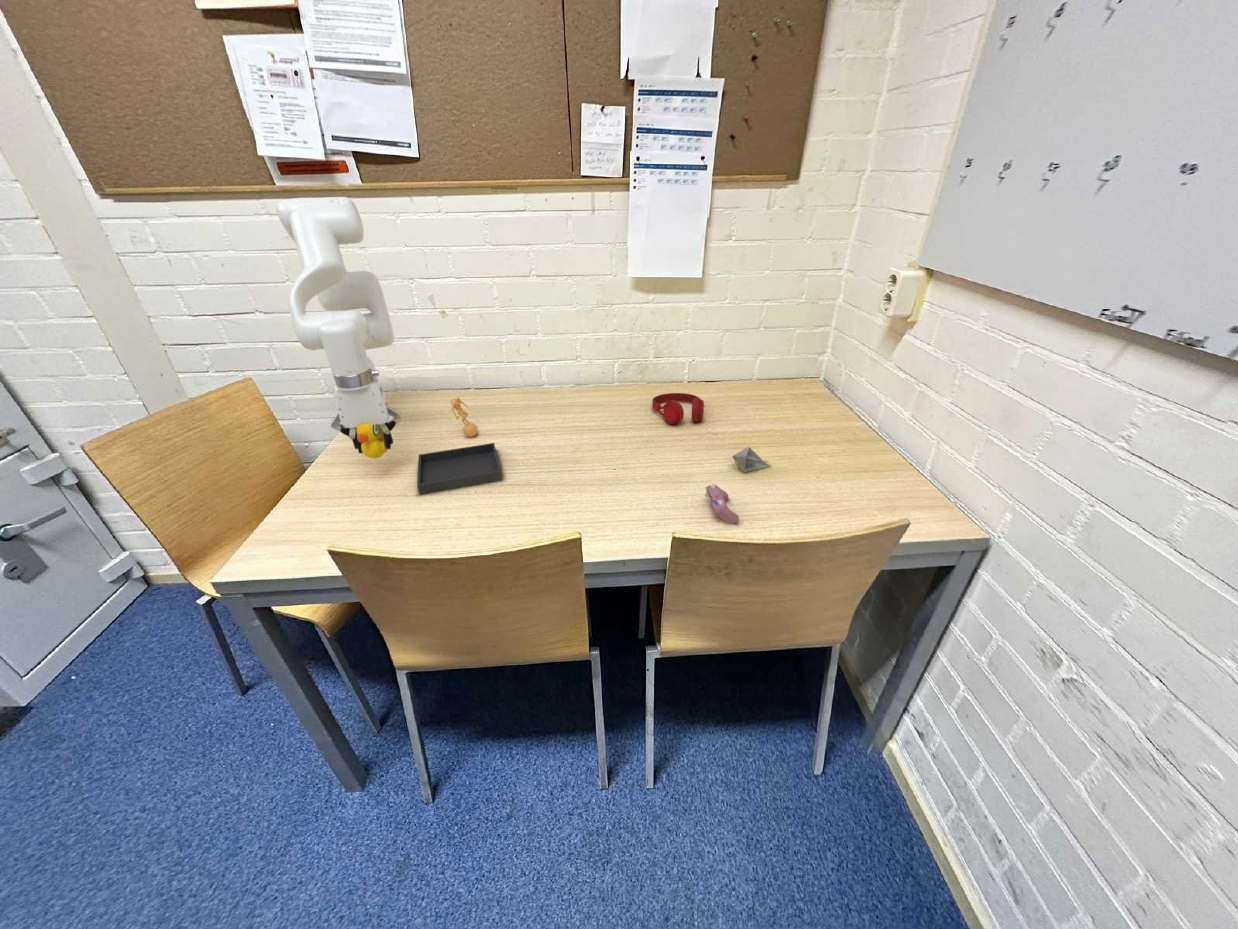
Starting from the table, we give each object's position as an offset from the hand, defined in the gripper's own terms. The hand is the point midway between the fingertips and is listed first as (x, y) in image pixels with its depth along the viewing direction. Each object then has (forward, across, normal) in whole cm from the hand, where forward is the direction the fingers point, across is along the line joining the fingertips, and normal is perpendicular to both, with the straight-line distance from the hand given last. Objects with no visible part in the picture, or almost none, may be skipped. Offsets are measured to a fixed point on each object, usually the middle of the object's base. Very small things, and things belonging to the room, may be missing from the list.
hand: (375, 447), depth 118 cm
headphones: (+9, -84, -10) cm, 85 cm away
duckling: (+2, 0, 0) cm, 2 cm away
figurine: (+9, -21, -16) cm, 28 cm away
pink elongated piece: (+7, -72, +40) cm, 83 cm away
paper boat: (+8, -87, +27) cm, 91 cm away
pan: (+8, -18, +3) cm, 20 cm away
